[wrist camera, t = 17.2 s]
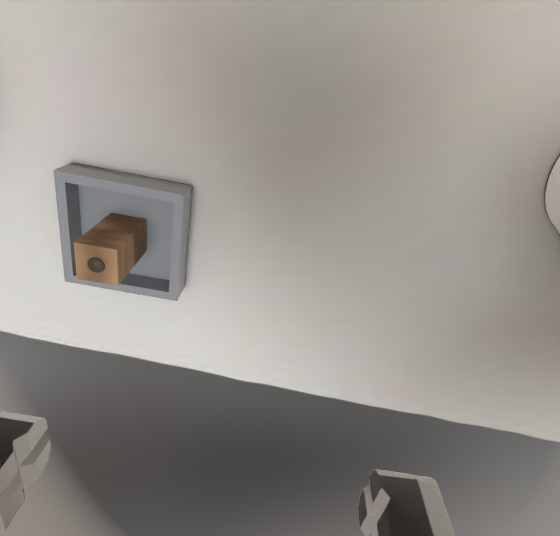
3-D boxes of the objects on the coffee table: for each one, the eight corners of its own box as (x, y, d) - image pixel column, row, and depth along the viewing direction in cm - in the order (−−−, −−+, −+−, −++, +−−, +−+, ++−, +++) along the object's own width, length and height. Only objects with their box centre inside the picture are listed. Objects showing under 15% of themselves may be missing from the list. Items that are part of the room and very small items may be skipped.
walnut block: (147, 219, 42) (116, 250, 35) (146, 250, 44) (117, 286, 37) (111, 212, 42) (72, 242, 35) (112, 244, 44) (76, 279, 37)
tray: (192, 185, 41) (184, 195, 38) (184, 285, 47) (177, 300, 44) (72, 162, 40) (53, 170, 37) (80, 266, 47) (64, 281, 44)
